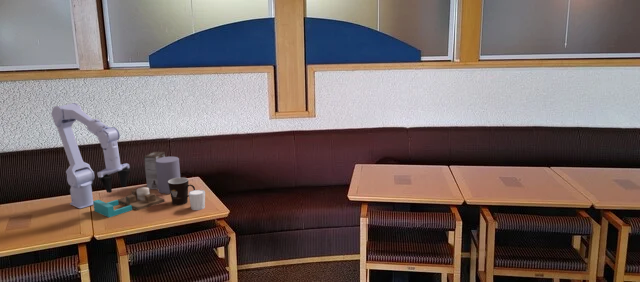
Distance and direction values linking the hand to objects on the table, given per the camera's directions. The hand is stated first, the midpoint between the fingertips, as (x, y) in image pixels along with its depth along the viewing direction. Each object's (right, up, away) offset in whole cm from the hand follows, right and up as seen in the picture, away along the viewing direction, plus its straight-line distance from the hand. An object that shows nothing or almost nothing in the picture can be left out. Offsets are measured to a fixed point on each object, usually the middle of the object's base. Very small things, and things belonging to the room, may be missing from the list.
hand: (116, 189), depth 216 cm
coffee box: (+6, -2, +35) cm, 35 cm away
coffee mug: (+24, -7, +11) cm, 27 cm away
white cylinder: (+32, -9, +6) cm, 34 cm away
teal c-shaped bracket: (-3, -9, +4) cm, 11 cm away
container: (+14, -3, +28) cm, 32 cm away
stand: (+5, -7, +14) cm, 16 cm away
